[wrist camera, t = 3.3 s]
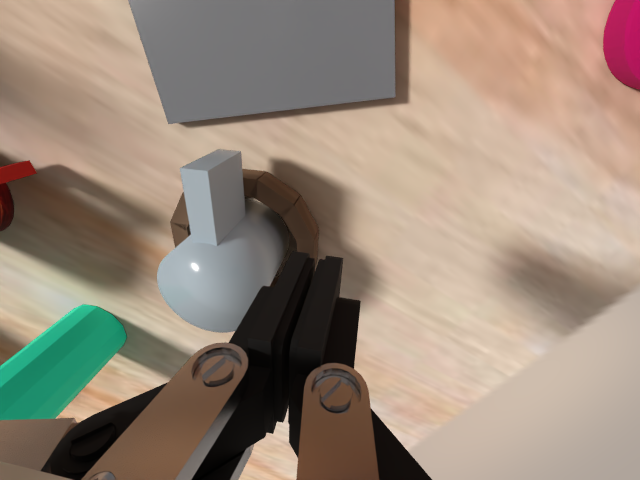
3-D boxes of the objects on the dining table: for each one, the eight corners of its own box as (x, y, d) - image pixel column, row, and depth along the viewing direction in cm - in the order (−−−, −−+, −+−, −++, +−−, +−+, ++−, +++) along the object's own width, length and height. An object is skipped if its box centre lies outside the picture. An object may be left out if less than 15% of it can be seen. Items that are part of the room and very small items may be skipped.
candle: (85, 294, 30) (-71, 413, 20) (136, 333, 31) (17, 462, 21) (63, 321, 33) (-85, 438, 22) (111, 355, 34) (-7, 481, 24)
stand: (175, 162, 22) (159, 169, 20) (321, 177, 21) (317, 185, 19) (196, 282, 27) (185, 295, 25) (314, 299, 26) (310, 314, 24)
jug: (289, 273, 25) (260, 339, 19) (217, 263, 26) (167, 324, 19) (289, 146, 20) (250, 179, 14) (201, 138, 21) (128, 166, 15)
